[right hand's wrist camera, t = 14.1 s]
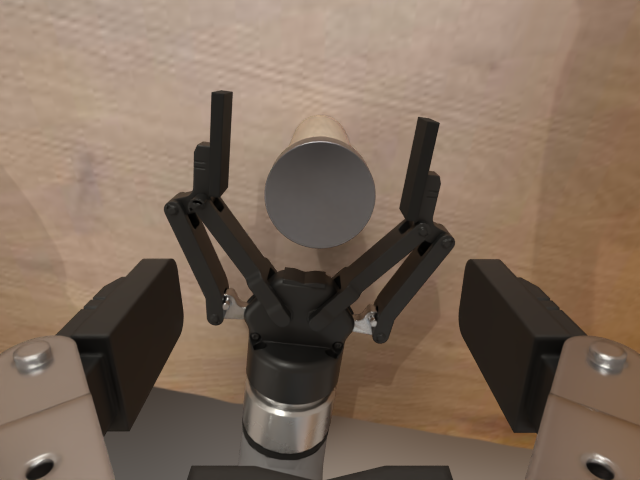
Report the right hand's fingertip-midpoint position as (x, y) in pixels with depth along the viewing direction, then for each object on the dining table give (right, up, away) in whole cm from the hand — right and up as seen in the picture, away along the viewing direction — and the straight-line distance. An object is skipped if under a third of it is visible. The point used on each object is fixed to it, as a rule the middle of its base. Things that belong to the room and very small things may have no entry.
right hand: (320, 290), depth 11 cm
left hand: (0, +10, +16) cm, 19 cm away
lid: (0, +3, +9) cm, 9 cm away
